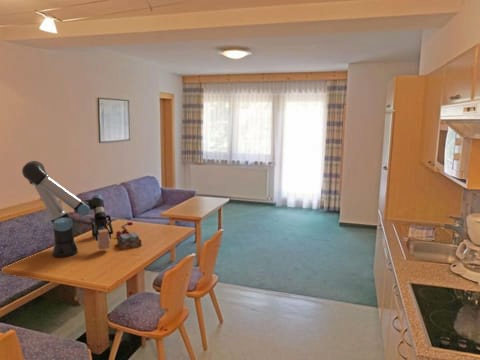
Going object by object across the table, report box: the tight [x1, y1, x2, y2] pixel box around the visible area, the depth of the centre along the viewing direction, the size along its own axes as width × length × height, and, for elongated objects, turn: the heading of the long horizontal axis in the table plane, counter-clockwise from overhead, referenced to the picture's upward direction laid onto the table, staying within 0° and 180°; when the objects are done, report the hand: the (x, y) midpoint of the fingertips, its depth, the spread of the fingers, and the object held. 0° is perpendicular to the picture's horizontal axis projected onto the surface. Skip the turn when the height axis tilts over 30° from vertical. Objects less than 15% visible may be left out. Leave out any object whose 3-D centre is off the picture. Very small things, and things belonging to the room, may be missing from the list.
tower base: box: [116, 231, 142, 250], centre depth 260 cm, size 14×14×7 cm
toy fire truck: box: [115, 221, 134, 238], centre depth 283 cm, size 3×14×10 cm, turn 143°
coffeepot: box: [89, 214, 111, 238], centre depth 283 cm, size 15×9×18 cm, turn 112°
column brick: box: [97, 229, 110, 250], centre depth 247 cm, size 6×6×12 cm
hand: (104, 243), depth 244 cm, fingers closed on column brick, 6 cm apart
